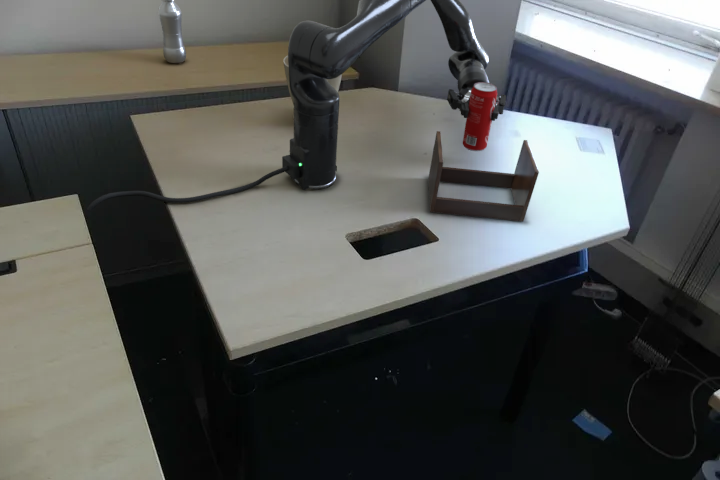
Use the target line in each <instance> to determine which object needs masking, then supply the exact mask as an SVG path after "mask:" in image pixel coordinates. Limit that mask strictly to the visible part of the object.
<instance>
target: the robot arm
mask: <svg viewBox="0 0 720 480" xmlns="http://www.w3.org/2000/svg"><path fill="white" fill-rule="evenodd" d="M426 1H427V0H359V1H358V4H357V11H356V16H355V17H354V18H353V19H352V20H351V21H349V22H347V23H346V24H345V25H343V26H341V27H336V28H335V27H332V26H329V25H326V24H323V23H319V22H316V21H313V20H303V21H300V22H298V23H297V24H296V26H294V28H293V29H292V32H291V34H290V36H289V41H288V46H287V55H288V66H289V83H290V91H291V94H292V97H293V100H294V106H293V138H290V139H289V154H287V155H283V156H282V157H281V165H282V167H280V168H278V169H276V170H273V171H271V172H269V173H266V174H264V175H262V176H261V177H260V178H259V179H257V180H255V181H253V182H250V183H247V184H245V185H242V186H238V187H233V188H230V189H224V190H220V191H215V192H209V193H205V194H202V195H197V196H191V197H168V196H162V195H159V194H157V193H154V192H150V191H145V190H127V191H117V192H116V191H115V192H114V191H113V192H109V193H106V194H103V195H100V196H99V197H97V198H96V199H94V200H93V201H92V202H91V203H90V204H89V205H88V206H87V208H86V211H88V212H89V211H93V210H94V209H95V208H96V207H97V206H98V205H99V204H101V203H103V202H104V201H106V200H110V199H114V198H120V197H133V196H136V197H137V196H138V197H139V196H140V197H146V198H150V199H153V200H157V201H159V202H160V201H161V202H164V203H170V204H187V203H194V202H199V201H204V200H208V199H213V198H217V197H222V196H227V195H233V194H236V193H240V192H244V191H247V190H249V189H250V190H251V189H252V188H255V187H257V186H259V185H261V184H262V183H264V182H265V181H267V180H269V179H270V178H273V177H275V176H277V175H280V174H283V173H286V174H287V175H288V176H289V178H290V179H291V180H292V181H293V182H294V183H295V184H296V185H297V186H299V187H300V188H301V189H302V190H303V191H306V190H323V189H327V188H330V187H332V185H334V184H335V183H336V180H337V175H336V174H337V173H338V166H337V152H338V133H339V118H340V117H339V116H340V115H339V113H340V94H339V91H338V92H337V91H336V90H335V89H334V88H333V87H332V85H331V84H330V83H329V82H328V81H327V79H334V78H336V77H338V76H340V75H341V74H342V75H343V74H344V73H345V72H346V71H348V69H350V68H351V66H353V64H354V63H355V62H356V61H357V60H358V59H359V58H360V57H361V56H362V55H363V54H364V52H366V51H367V50H368V49H369V48H370V47H371V46H372V44H374V43H375V42H376V41H378V39H380V38H381V37H383V36H384V34H386V33H387V32H388V31H389V30H390V29H392V28H394V27H395V26H396V25H397V24H398V23H400V22H401V21H402V20H404V19H405V18H406V17H408V15H410V13H412V12H414V10H416V9H417V8H418V7H420V6H421V5H422V4H423V3H425V2H426ZM430 2H431V4H432V5H433V7H434V9H435V11H436V13H437V16H438V17H439V20H440V22H441V25H442V28H443V30H444V34H445V37H446V40H447V44H448V46H449V48H450V49H451V51H453V53H452V54H451V55H450V56H449V58H448V62H447V63H448V64H447V65H448V70H449V72H450V73H451V75H452V76H453V78H454V79H456V80H457V91H458V92H457V91H455V90H454V89H452V88H449V89H448V92H447V96H446V97H447V98H446V101H447V102H448V104H449V106H450V108H451V109H452V110H454V111H456V110H459V112H460V115H461V116H462V117H463V118H464V119H467V117H468V112H469V102H470V96H471V90H472V88H473V86H474V84H475V83H478V82H487V83H490V81H489V77H488V75H487V73H486V69H487V67H488V65H489V60H490V59H489V54H488V52H487V50H486V49H485V48H484V46H483V45H482V44H481V42H480V41H479V39H478V37H477V36H476V33H475V30H474V25H473V21H472V19H471V18H472V17H471V16H470V12H469V11H468V10H467V8H466V6H465V5H464V4H463V3H462V1H461V0H430ZM506 100H507V95H506V94H500V95H499V96H497V98H496V103H495V108H494V110H493V114H492V118H491V121H492V122H495V121H496V120H497V119H498V118H499V115H503V114H504V110H505V106H506V102H507V101H506Z"/></svg>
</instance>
